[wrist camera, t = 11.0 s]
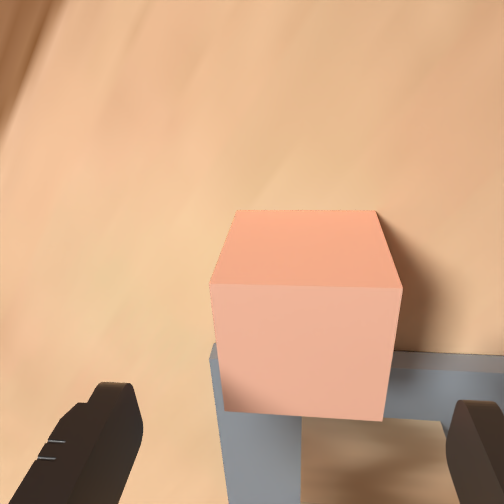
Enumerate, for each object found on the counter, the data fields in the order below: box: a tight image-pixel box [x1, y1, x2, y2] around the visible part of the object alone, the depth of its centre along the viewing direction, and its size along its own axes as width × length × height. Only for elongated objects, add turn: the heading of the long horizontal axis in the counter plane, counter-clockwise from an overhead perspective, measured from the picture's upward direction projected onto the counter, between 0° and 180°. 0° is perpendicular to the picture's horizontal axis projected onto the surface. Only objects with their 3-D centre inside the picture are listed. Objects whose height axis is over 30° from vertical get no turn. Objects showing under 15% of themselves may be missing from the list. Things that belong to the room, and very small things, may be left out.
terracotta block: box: [209, 210, 403, 422], centre depth 14 cm, size 5×5×5 cm
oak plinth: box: [300, 416, 460, 504], centre depth 18 cm, size 6×6×4 cm
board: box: [209, 343, 504, 504], centre depth 20 cm, size 14×12×1 cm
